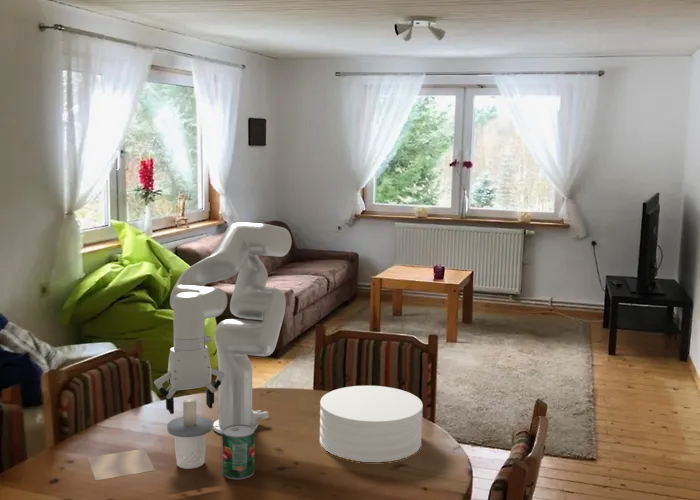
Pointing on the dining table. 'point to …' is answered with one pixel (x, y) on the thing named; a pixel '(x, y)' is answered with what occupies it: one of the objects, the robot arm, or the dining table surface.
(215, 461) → the dining table surface
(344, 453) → the plate stack
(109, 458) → the cork mat
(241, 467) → the canned tomato
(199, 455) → the white cup
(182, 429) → the lid
